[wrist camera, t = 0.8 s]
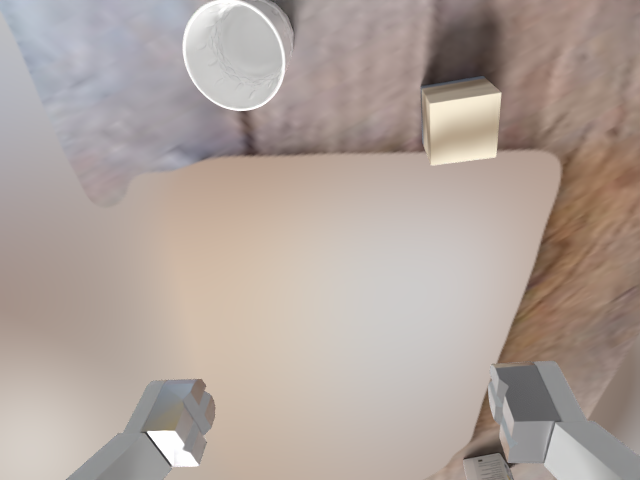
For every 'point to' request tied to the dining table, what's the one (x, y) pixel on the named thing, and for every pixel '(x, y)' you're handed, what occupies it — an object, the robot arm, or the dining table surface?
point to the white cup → (238, 51)
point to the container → (487, 468)
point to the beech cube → (460, 120)
